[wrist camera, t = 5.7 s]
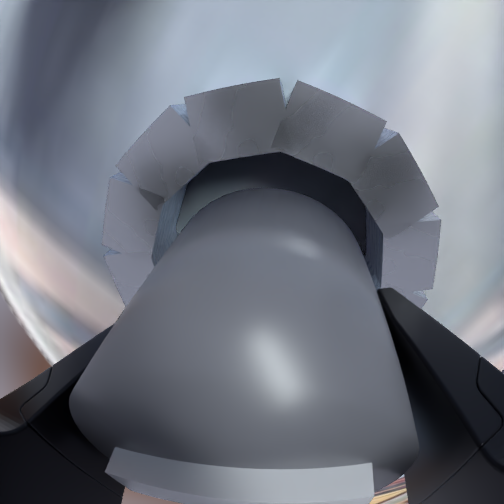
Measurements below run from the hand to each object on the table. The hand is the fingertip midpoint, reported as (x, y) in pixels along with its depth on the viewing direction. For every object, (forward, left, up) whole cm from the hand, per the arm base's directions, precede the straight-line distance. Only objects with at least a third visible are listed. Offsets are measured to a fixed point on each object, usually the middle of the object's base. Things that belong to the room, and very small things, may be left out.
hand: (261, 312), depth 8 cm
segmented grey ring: (0, 0, -4) cm, 5 cm away
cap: (0, 0, -2) cm, 2 cm away
